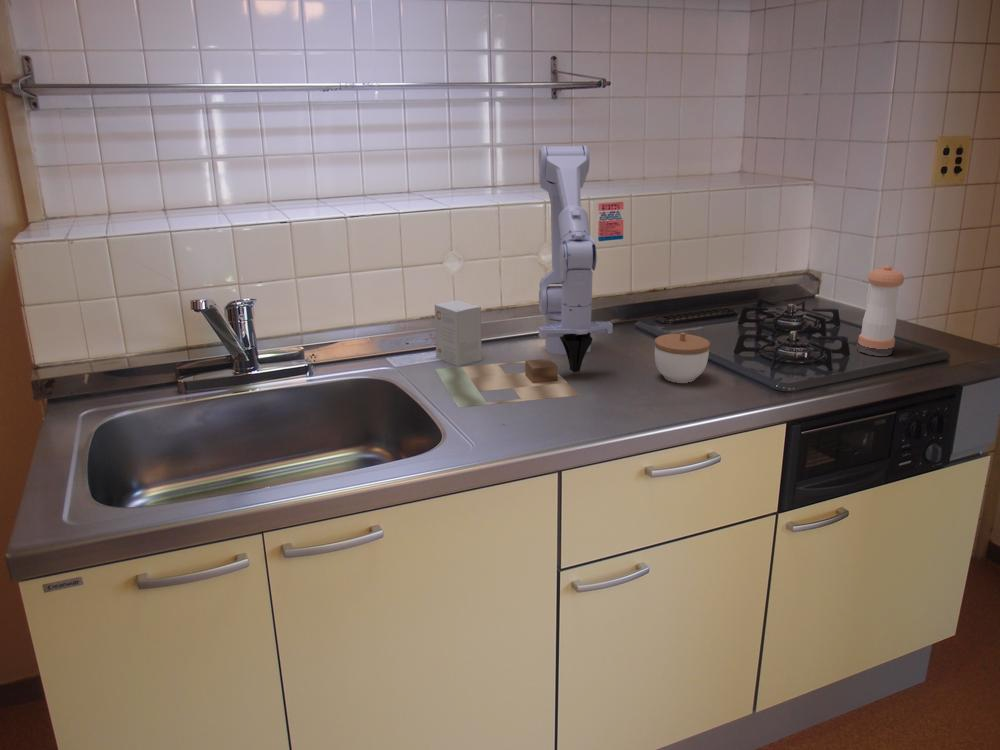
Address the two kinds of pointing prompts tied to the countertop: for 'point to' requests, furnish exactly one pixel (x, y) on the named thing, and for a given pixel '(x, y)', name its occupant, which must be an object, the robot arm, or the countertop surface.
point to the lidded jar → (681, 356)
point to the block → (541, 370)
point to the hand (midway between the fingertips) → (574, 370)
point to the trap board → (497, 384)
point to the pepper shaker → (881, 309)
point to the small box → (458, 332)
